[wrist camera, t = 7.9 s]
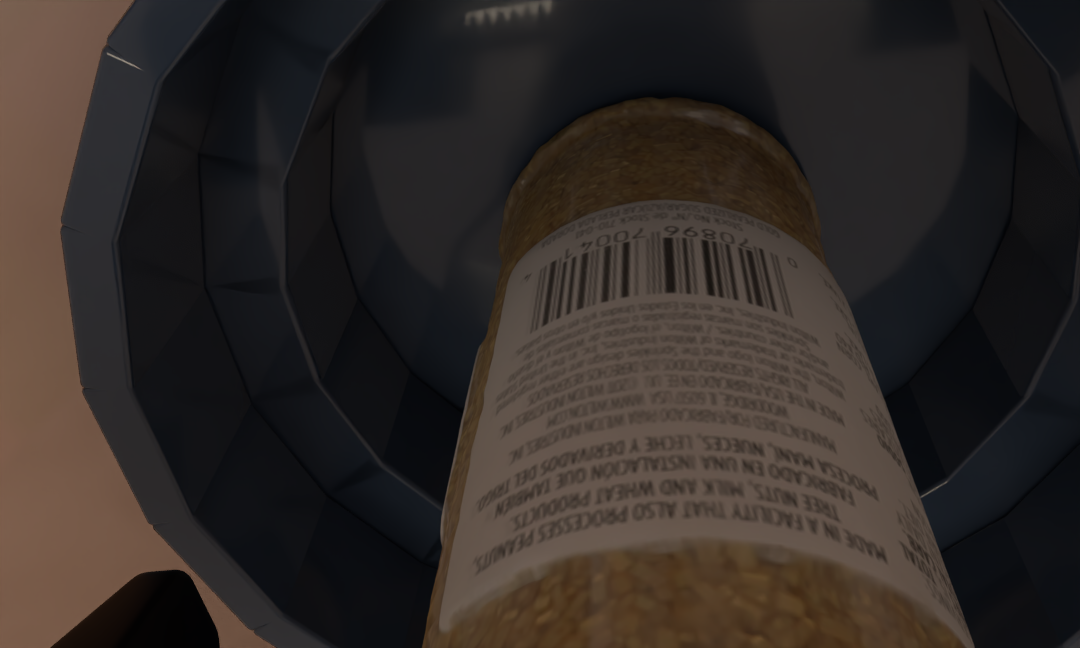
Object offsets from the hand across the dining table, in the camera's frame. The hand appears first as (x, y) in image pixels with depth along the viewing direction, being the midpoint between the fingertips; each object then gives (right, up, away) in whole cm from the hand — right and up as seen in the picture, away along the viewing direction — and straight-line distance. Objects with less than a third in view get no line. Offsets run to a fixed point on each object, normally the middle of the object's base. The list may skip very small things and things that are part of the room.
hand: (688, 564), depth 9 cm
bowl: (+1, +4, +6) cm, 8 cm away
